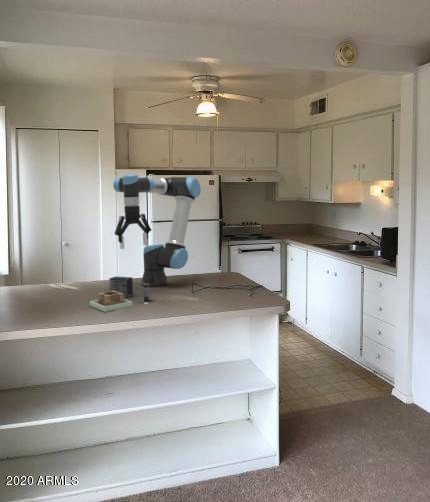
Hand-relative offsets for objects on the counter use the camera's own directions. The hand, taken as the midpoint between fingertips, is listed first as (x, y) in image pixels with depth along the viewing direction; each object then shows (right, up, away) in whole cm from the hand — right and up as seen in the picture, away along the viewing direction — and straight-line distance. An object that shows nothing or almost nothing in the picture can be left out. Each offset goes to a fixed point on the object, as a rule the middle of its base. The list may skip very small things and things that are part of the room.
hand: (134, 247), depth 262 cm
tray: (-9, -29, -13) cm, 33 cm away
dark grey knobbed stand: (+7, -28, -6) cm, 29 cm away
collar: (-9, -28, -13) cm, 32 cm away
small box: (-7, -26, +7) cm, 28 cm away
